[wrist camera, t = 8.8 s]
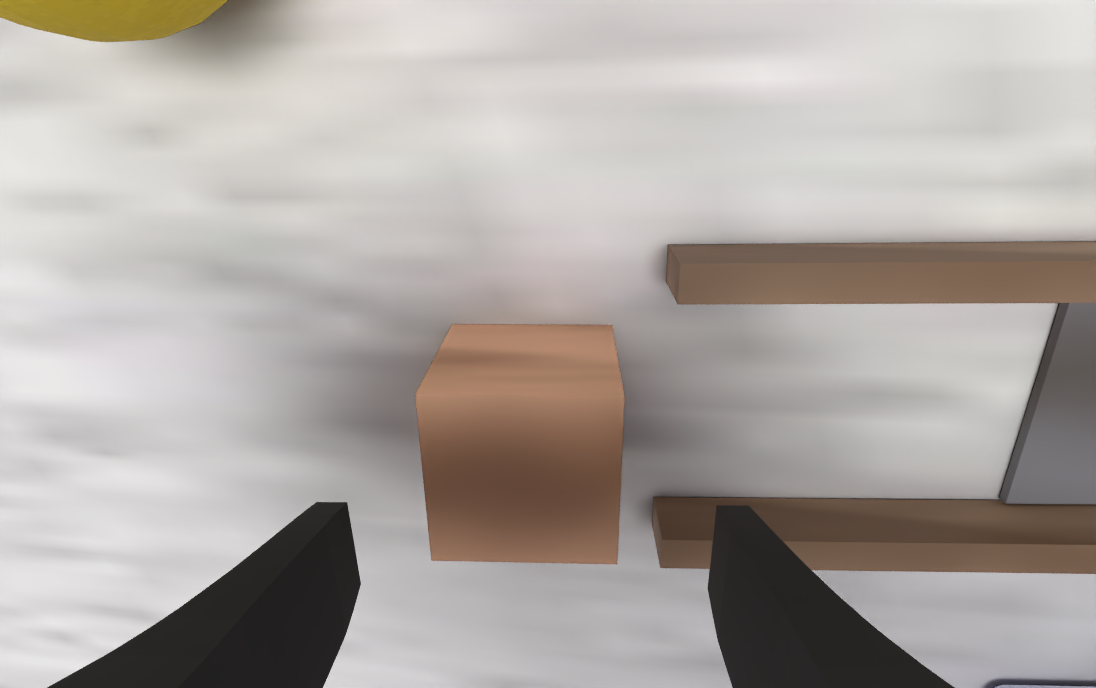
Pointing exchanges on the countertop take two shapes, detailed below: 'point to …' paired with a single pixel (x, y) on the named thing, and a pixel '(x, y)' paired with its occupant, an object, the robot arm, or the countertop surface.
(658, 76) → the countertop surface
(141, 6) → the lemon
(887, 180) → the countertop surface
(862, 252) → the channel
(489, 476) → the block
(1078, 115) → the countertop surface
